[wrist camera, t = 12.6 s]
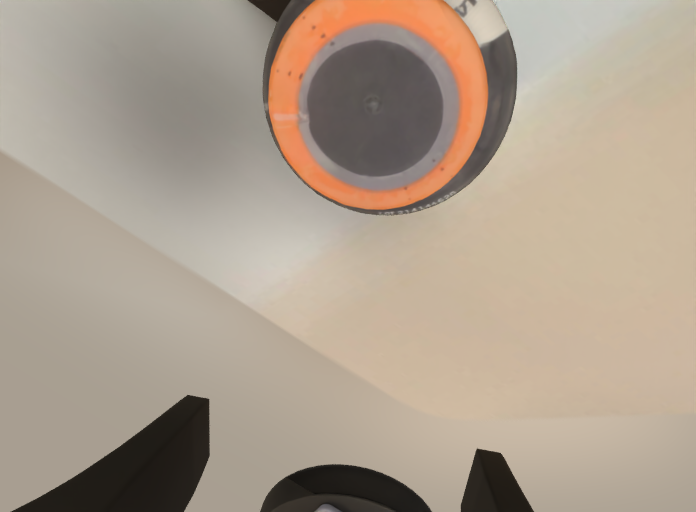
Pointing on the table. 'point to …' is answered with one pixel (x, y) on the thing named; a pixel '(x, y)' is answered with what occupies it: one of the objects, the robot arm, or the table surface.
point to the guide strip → (271, 7)
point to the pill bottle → (389, 97)
